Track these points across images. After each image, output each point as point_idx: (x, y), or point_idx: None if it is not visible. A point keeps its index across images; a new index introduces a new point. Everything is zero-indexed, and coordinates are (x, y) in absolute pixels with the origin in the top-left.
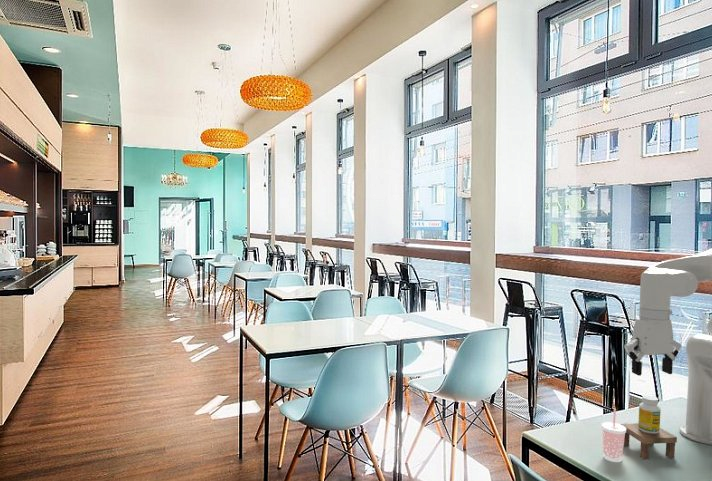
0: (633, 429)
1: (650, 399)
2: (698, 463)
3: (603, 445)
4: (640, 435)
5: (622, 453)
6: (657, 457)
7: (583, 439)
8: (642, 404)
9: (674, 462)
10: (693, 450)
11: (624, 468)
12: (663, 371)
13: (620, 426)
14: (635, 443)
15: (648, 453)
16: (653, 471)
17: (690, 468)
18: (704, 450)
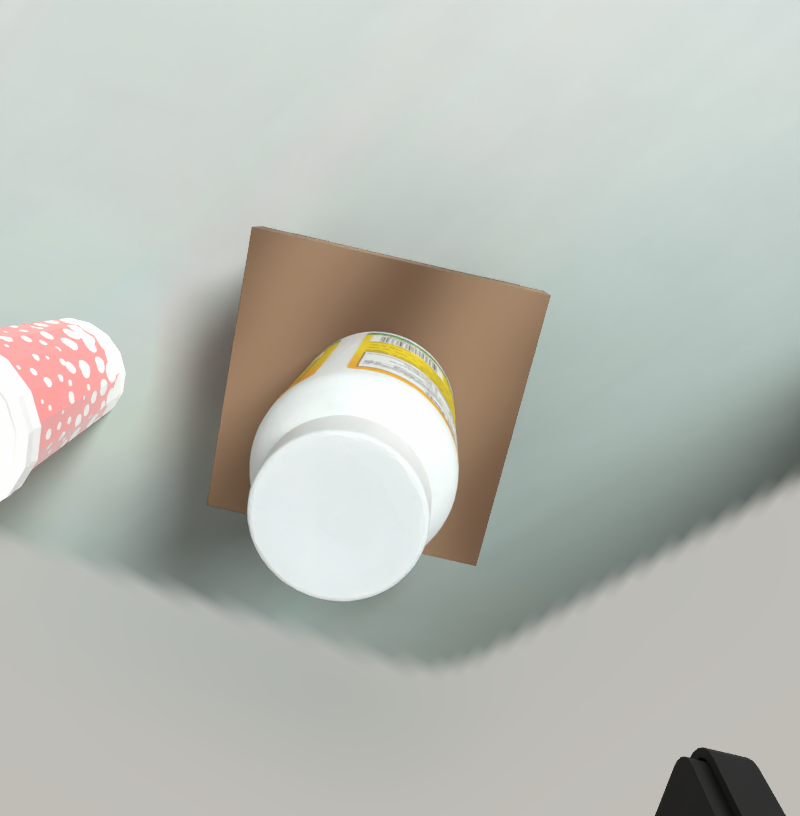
0: (267, 350)
1: (285, 560)
2: (537, 589)
3: None
4: (223, 454)
5: (91, 424)
6: None
7: (79, 70)
8: (270, 449)
9: None
10: (696, 467)
11: (49, 487)
12: (668, 788)
13: (3, 435)
14: (409, 256)
15: None
16: (187, 564)
17: (428, 611)
18: (767, 491)
